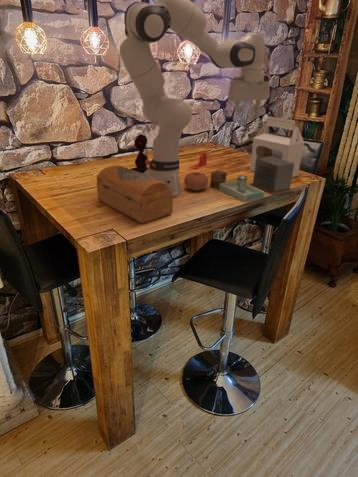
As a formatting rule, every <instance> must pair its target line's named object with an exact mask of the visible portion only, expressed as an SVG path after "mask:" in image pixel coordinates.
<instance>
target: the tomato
mask: <svg viewBox="0 0 358 477" xmlns="http://www.w3.org/2000/svg"><path fill="white" fill-rule="evenodd" d="M183 180H184V181H183V182H184V186H185V187H186V188H187V189H189V190H190V191H196V192H198V191H202V190H204V189H205V188H206V187H208V184H209V179H208V177H207V175H206V174H204V173H203V172H199V171H198V172H197V171H192V172H189V173H187V174H186V176H185V177H184V179H183Z"/></svg>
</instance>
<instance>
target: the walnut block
mask: <svg viewBox="0 0 358 477" xmlns="http://www.w3.org/2000/svg"><path fill="white" fill-rule="evenodd" d="M210 172H211V173H210V188H212V189H216V190H219V184H220V183H226V181H227V172H225V171H222V170H215V171H210ZM219 191H220V190H219Z"/></svg>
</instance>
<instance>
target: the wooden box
mask: <svg viewBox="0 0 358 477" xmlns="http://www.w3.org/2000/svg"><path fill="white" fill-rule="evenodd" d="M96 190H97V191H96V192H97V201H99V202H101V203H102V204H105V205H106V206H108V207H110V208H112V209H114V210H115V211H117V212H119V213H121V214H123V215H125V216H127V217H128V218H130V219H132V220H134V221H136V222H138V223H139V224H145V223H147V222H151V221H154V220H156V219H160V218H163V217H166V216H169V215H172V214H173V197H172V188H171V187H170V186H168V185H167V184H166V183H164V182H162V181H160V180H157V179H154V178H152V177H149V176H148V175H145V174H142V173H139V172H137V171H134V170H131V168H128V167H125V166H122V165H111V166H106V167H104V168H103V169H102V170H100V171H99V173H98V174H97V176H96Z"/></svg>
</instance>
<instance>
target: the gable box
mask: <svg viewBox="0 0 358 477" xmlns="http://www.w3.org/2000/svg"><path fill="white" fill-rule="evenodd" d="M270 127H273V128H280V129H285V130H290V131H292V134H291V137H288V136H283V135H277V134H273V133H269V129H270ZM304 144H305V141H304V139H303V136H302V134H301V131H300V127H298V126H297V121H296V120H295V119H289V118H288V119H287V118H283V117H275V116H268V117H267V118H266V119H265V121H263V122H262V125H261V127H260V128H259V129H258V131H257V132H256V134H254V137H253V141H252V149H251V157H250V164H249V171H251V172H254V171H255V163H256V158H264V157H271V156H273V151H279V152H281V153H282V157H281V159H282V160H285V161H288V162H292V163H294V168H293V174H292V178H295V177H298V176H299V172H300V166H301V161H302V157H303V156H302V155H303V150H304Z"/></svg>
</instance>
